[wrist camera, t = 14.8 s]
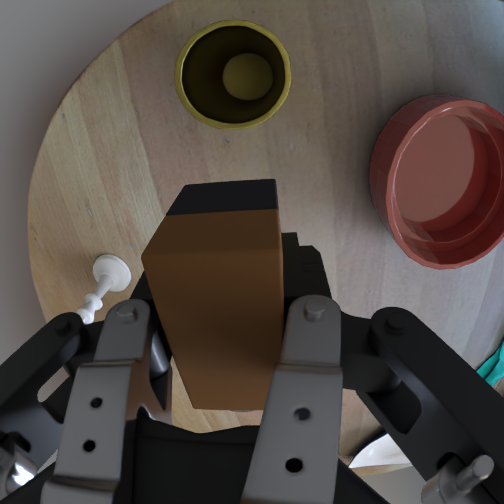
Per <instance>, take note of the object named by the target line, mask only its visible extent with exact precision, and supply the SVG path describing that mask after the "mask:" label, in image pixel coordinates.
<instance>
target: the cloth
mask: <svg viewBox="0 0 504 504" xmlns="http://www.w3.org/2000/svg"><path fill="white" fill-rule="evenodd" d="M476 372H477V373H478V374H479V375H480V376H481V377H482V378H483V379H484V380H485V381H486V382H487V383H488V384H489V385H490V386H491V387H492V386H493V385H494V384H495V383H496V382H497V381H498V380H499V379H500V378H502V377H503V376H504V341H503V343H502V344H501V346H500V347H499V349H498V350H497V351H496V352H495V354H494V355H493V356H491V357H490V358H489V359H488V360H487V361H486V362H485V363H484V364H483V365H482V366H481V367H480V368H479V369H478V370H477V371H476Z"/></svg>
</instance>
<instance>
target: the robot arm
mask: <svg viewBox="0 0 504 504" xmlns="http://www.w3.org/2000/svg"><path fill="white" fill-rule="evenodd" d="M281 240H282V252H283V293H284V337H283V342H282V347H281V352H280V357H279V362H276V363H275V365H274V368H273V371H272V376H271V380H270V385H269V389H268V394H267V398H266V403H265V407H264V411H263V415H262V420H261V424H260V425H245V426H240V427H235V428H230V429H225V430H219V431H213V432H208V433H194V432H191V431H188V430H185V429H182V428H179V427H176V426H173V424H172V418H171V405H172V367H171V365H170V361H171V358H172V352H171V350H170V347H169V344H168V341H167V339H166V336H165V333H164V330H163V327H162V324H161V321H160V318H159V315H158V312H157V309H156V306H155V303H154V300H153V297H152V294H151V290H150V287H149V284H148V281H147V277H146V274H145V271H143V273H142V275H141V278H140V279H139V281H138V283H137V285H136V287H135V289H134V291H133V293H132V295H131V297H130V299H128V300H124V301H122V302H119V303H118V304H116V305H114V306H113V307H112V308H111V309H110V310H109V311H108V313H107V315H106V318H105V320H103V321H99V322H94V323H89V324H84V322H83V320H82V318H81V316H80V315H79V314H77V313H74V312H67V313H63V314H60V315H58V316H56V317H55V318H53V319H52V320H51V321H50V322H48V323H47V324H46V325H45V326H44V327H43V328H41V329H40V330H39V331H38V332H37V333H36V334H35V335H33V336H32V337H31V338H30V339H29V340H28V341H27V342H25V343H24V344H23V345H22V346H21V347H20V348H19V349H18V350H17V351H16V352H14V353H13V354H12V355H11V356H10V357H9V358H8V359H7V360H6V361H5V362H3V364H1V365H0V504H390V503H389V502H387V501H386V500H385V499H384V498H383V497H382V496H380V495H379V494H378V493H377V492H376V491H375V490H374V489H372V488H371V487H370V486H369V485H368V484H367V483H366V482H364V481H363V480H362V479H361V478H360V477H359V476H358V475H357V474H355V473H354V472H353V471H352V470H351V469H350V468H349V467H348V466H347V465H346V464H345V463H343V462H342V461H341V460H340V459H339V458H338V453H339V441H340V427H341V411H342V389H343V388H345V389H351V390H355V391H356V393H357V395H358V396H359V398H360V399H361V400H362V401H363V403H364V404H365V405H366V406H367V408H368V409H369V410H370V412H371V413H372V414H373V415H374V417H375V418H376V419H377V420H378V422H379V423H380V424H381V425H382V427H383V428H384V429H385V431H386V432H387V433H388V434H389V436H390V437H391V438H392V439H393V441H394V442H395V443H396V444H397V446H398V447H399V448H400V449H401V451H402V452H403V453H404V454H405V456H406V457H407V458H408V460H409V461H410V462H411V463H412V465H413V466H414V467H415V468H416V470H417V471H418V472H419V473H420V475H421V476H422V477H423V478H424V480H425V481H426V483H425V485H424V487H423V489H422V493H421V501H422V504H504V398H503V397H502V396H501V395H500V394H499V393H498V392H497V391H496V390H495V389H494V388H492V387H491V386H490V385H489V384H488V383H487V382H486V381H485V380H484V379H483V378H482V377H481V376H480V375H479V374H478V373H477V372H476V371H475V370H474V369H473V368H472V367H471V366H470V365H469V364H468V363H467V362H466V361H464V360H463V359H462V358H461V357H460V356H459V355H458V354H457V353H456V352H455V351H454V350H453V349H452V348H450V347H449V346H448V345H447V344H446V343H445V342H444V341H443V340H442V339H441V338H440V337H438V336H437V335H436V334H435V333H434V332H433V331H432V330H431V329H430V328H428V327H427V326H426V325H425V324H424V323H423V322H422V321H421V320H420V319H418V318H417V317H416V316H415V315H414V314H413V313H411V312H410V311H408V310H405V309H403V308H399V307H385V308H382V309H379V310H378V311H376V312H375V313H374V314H373V316H372V318H371V319H367V318H361V317H355V316H351V315H348V314H346V313H344V312H343V311H341V309H340V307H339V305H338V304H337V303H336V302H335V301H334V300H333V299H332V296H331V292H330V288H329V285H328V281H327V277H326V273H325V269H324V265H323V262H322V258H321V254H320V252H319V251H317V250H316V249H315V248H314V247H313V246H312V245H311V246H299V243H298V237H297V232H291V233H281ZM62 366H63V368H64V369H65V370H66V372H67V373H68V375H69V377H68V378H67V379H66V380H65V381H64V382H63V383H62V384H61V385H60V386H59V387H58V388H57V389H56V390H55V391H54V392H53V393H52V394H51V395H50V396H49V397H48V398H47V399H46V400H45V401H43V402H39V401H38V398H37V394H38V391H39V389H40V388H41V386H43V384H45V383H46V382H47V380H49V379H50V378H51V377H52V376H53V375H54V374H55V373H56V372H57V371H58V370H59V369H60V368H61V367H62ZM57 449H58V453H57V458H56V461H55V462H54V463H52V464H51V465H50V466H48V467H47V468H45V469H44V470H43V471H41V472H40V473H39V474H37V471H38V470H39V469H40V468H41V466H42V465H43V464H44V463H45V462H46V461H47V460H48V459H49V458H50V456H51V455H52V454H53V453H54V452H55V451H56V450H57Z"/></svg>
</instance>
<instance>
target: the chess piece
mask: <svg viewBox="0 0 504 504" xmlns="http://www.w3.org/2000/svg"><path fill="white" fill-rule="evenodd" d="M93 275H94V277H95V279H96V281H97V282H98V284H97V286H96V288H95V291H94V293H93V294H92V293H89V294H87V295H86V296H85V303H86V304H84V305H83V306H82V307H80V308H78V309H77V311H76V313H77V314H79V315H80V316H81V318H82V320H83V322H84V324H89V323H92V322H93V320H94V313H95V310H99V309H100V308H102V305H103V304H102V301H101V298H102V297H103V295H104V294H105V293H106V292H107V291H108V290H109V291H114V292H118V291H122V290H124V289H125V288H126V287H127V286H128V285H129V283H130V281H131V273H130V270H129V268H128V266H127V265H126V264H125V263H124V262H123V261H122V260H121V259H120V258H118V257H116V256H114V255H109V254H106V255H101V256H99V257H98V258H97V259H96V261H95V263H94V265H93Z"/></svg>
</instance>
